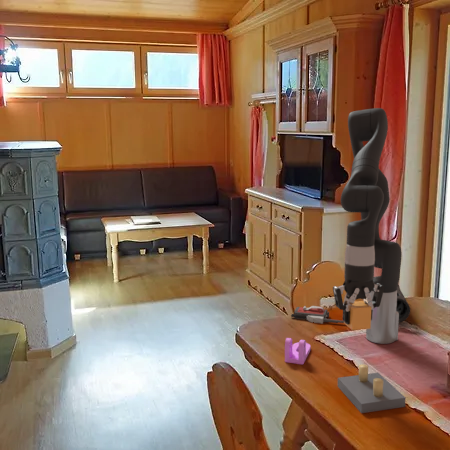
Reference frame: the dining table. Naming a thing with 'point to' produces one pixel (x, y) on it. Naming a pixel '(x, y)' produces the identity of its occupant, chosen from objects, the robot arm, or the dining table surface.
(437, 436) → the dining table surface
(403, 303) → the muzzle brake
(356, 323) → the orange wooden cube
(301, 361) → the bracket
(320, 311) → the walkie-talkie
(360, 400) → the mounting plate
